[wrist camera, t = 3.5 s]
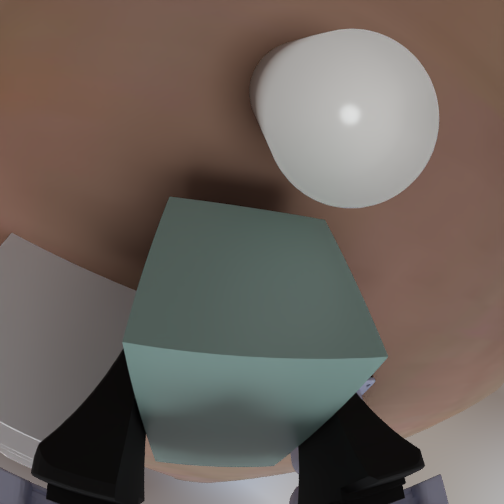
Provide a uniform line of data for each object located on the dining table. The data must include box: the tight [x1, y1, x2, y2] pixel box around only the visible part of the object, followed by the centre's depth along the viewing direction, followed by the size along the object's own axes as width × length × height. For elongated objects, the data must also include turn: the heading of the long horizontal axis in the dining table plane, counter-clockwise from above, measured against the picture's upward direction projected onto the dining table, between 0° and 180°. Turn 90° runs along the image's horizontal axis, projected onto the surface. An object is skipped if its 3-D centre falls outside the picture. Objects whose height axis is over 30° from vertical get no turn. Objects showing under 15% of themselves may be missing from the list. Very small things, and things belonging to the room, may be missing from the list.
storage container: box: [0, 233, 136, 469], centre depth 18 cm, size 25×11×11 cm, turn 148°
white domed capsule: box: [249, 29, 439, 208], centre depth 9 cm, size 5×5×6 cm
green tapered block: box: [122, 197, 388, 467], centre depth 11 cm, size 10×6×6 cm, turn 168°
